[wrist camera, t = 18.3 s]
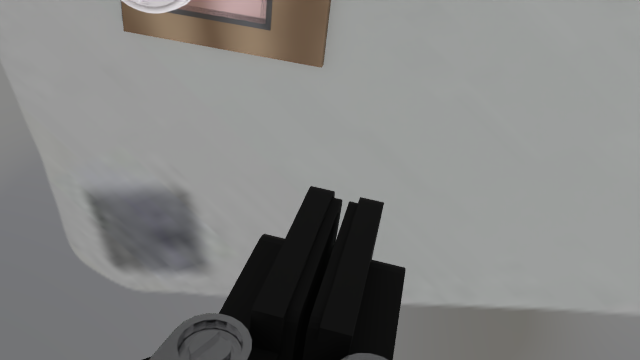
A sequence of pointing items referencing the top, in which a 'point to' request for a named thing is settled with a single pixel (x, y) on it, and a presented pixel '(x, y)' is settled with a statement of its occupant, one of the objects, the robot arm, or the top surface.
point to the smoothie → (155, 5)
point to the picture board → (243, 27)
